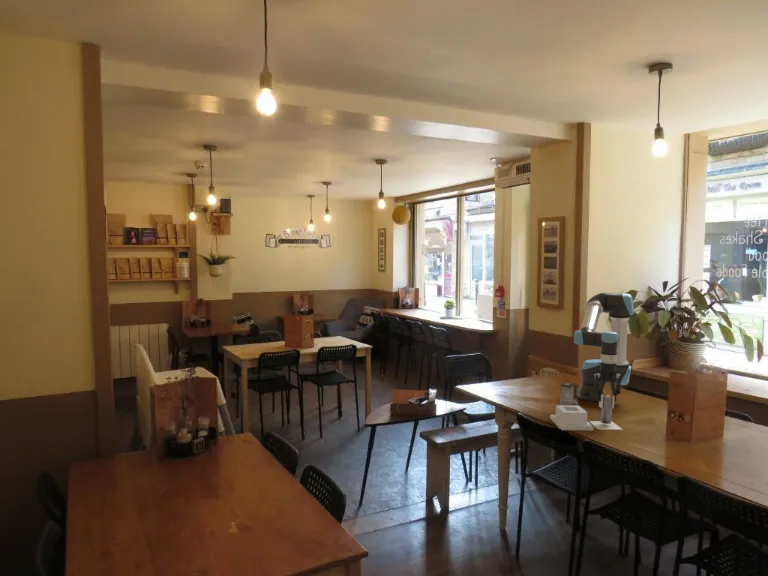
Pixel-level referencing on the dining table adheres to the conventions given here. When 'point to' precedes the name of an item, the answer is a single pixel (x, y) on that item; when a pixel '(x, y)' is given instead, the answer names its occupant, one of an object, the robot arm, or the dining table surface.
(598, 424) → the pad
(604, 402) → the copper top metal cylinder
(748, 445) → the dining table surface
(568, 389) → the coffee box
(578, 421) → the housing
